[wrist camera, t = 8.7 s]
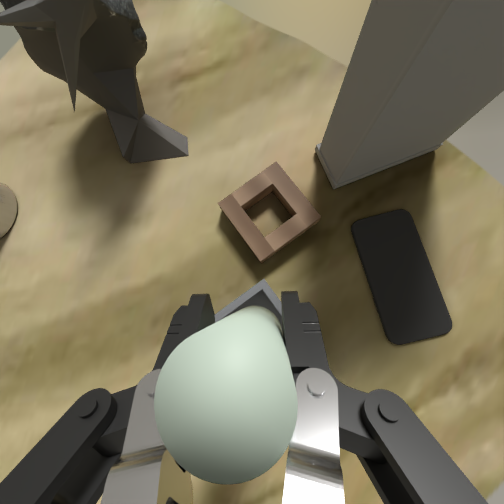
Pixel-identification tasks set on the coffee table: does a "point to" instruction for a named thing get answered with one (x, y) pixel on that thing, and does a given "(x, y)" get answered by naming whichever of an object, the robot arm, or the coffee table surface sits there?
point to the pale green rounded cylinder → (228, 398)
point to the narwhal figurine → (96, 64)
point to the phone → (400, 278)
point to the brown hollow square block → (256, 191)
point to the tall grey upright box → (412, 83)
